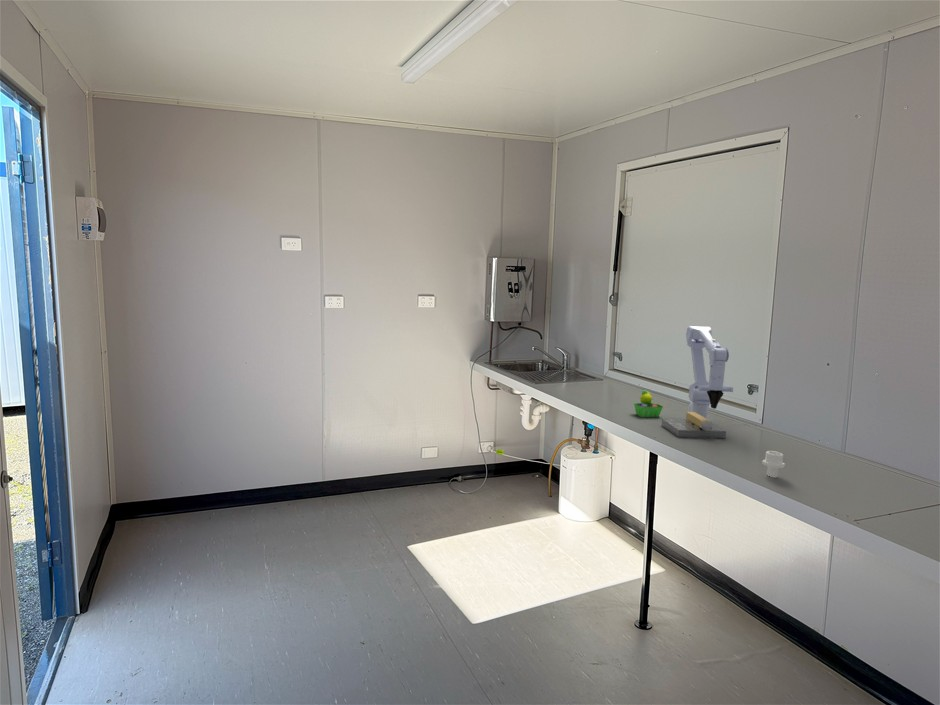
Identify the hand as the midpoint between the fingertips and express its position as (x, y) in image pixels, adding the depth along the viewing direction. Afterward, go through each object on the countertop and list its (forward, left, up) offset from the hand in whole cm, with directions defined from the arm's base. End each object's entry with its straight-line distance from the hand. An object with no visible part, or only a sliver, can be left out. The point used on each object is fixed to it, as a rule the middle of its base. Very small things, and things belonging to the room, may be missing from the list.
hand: (713, 408), depth 267 cm
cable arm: (+3, -7, -6) cm, 10 cm away
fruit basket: (-25, -19, -10) cm, 33 cm away
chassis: (+2, -9, -10) cm, 14 cm away
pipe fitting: (+56, -5, -10) cm, 57 cm away
